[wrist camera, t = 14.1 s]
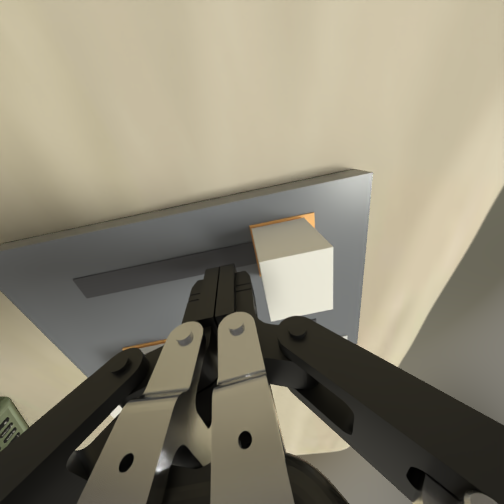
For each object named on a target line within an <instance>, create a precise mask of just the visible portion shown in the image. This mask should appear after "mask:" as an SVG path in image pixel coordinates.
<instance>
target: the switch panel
mask: <svg viewBox="0 0 504 504" xmlns="http://www.w3.org/2000/svg"><path fill="white" fill-rule="evenodd" d="M372 178H373V172H368V171H362V170H357V169H352V170H347V171H342V172H338V173H333V174H328V175H324V176H319V177H314V178H309V179H305V180H300V181H295V182H291V183H286V184H281V185H276V186H272V187H267V188H262V189H258V190H253V191H248V192H243V193H239V194H234V195H229V196H225V197H220V198H215V199H210V200H206V201H201V202H196V203H192V204H187V205H182V206H177V207H173V208H168V209H163V210H159V211H154V212H149V213H144V214H140V215H135V216H130V217H126V218H121V219H116V220H111V221H107V222H102V223H97V224H93V225H88V226H83V227H78V228H74V229H69V230H64V231H60V232H55V233H50V234H45V235H41V236H36V237H31V238H27V239H22V240H17V241H12V242H8V243H3V244H0V291H1V292H2V293H3V294H4V295H5V296H6V297H7V298H8V299H9V300H10V301H11V302H12V303H13V304H14V305H15V306H16V307H17V308H18V309H19V310H20V311H21V312H22V313H23V314H24V315H25V316H26V317H27V318H28V319H29V320H30V321H31V322H32V323H33V324H34V325H35V326H36V327H37V328H38V329H39V330H40V331H41V332H42V333H43V334H44V335H45V336H46V337H47V338H48V339H49V340H50V341H51V342H52V343H53V344H55V345H56V346H57V347H58V348H59V349H60V350H61V351H62V352H63V353H64V354H65V355H66V356H67V357H68V358H69V359H70V360H71V361H72V362H73V363H74V364H75V365H76V366H77V367H78V368H79V369H80V370H81V371H82V372H83V373H84V374H85V375H86V376H87V377H88V378H89V377H90V376H91V375H92V374H93V373H95V372H96V371H97V370H98V369H99V368H100V367H102V366H103V365H104V364H105V363H106V362H108V361H109V360H110V359H111V358H112V357H114V356H115V355H116V354H118V353H119V352H121V351H123V350H126V349H129V348H143V347H148V346H153V345H158V344H163V343H165V342H166V340H167V338H168V336H169V334H170V333H171V332H172V331H173V330H174V329H175V328H176V327H178V326H179V325H181V323H182V320H183V317H184V313H185V310H186V306H187V303H188V299H189V296H190V292H191V289H192V287H193V286H194V284H195V283H196V282H197V281H198V280H202V279H204V274H205V270H206V269H209V268H214V267H219V266H224V265H229V264H233V263H234V264H235V267H236V271H237V272H241V271H246V272H247V273H248V274H249V275H250V278H251V282H252V286H253V290H254V295H255V300H256V307H257V313H258V319H259V320H261V321H262V322H265V323H268V324H275V325H279V324H280V323H281V321H283V320H284V319H282V320H277V321H272V322H271V319H270V315H269V310H268V305H267V301H266V296H265V292H264V287H263V282H262V278H261V273H260V268H259V263H258V258H257V253H256V248H255V244H254V239H253V234H252V229H251V228H256V227H261V226H266V225H271V224H275V223H280V222H285V221H290V220H294V219H299V218H305V219H306V220H307V221H308V222H309V223H310V224H311V225H312V226H313V227H314V228H315V229H316V230H317V231H318V232H319V233H320V234H321V235H322V236H323V237H324V238H325V239H326V240H327V241H328V242H329V243H330V244H331V245H332V246H333V309H331V310H326V311H322V312H317V313H312V314H307V315H302V316H303V317H307V318H309V319H311V320H312V321H314V322H316V323H318V324H320V325H322V326H323V327H325V328H327V329H329V330H331V331H333V332H334V333H336V334H338V335H340V336H342V337H343V338H345V339H347V340H349V341H351V342H353V343H354V344H357V339H358V329H359V318H360V307H361V296H362V285H363V275H364V264H365V253H366V242H367V232H368V221H369V210H370V199H371V189H372Z"/></svg>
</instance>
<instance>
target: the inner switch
mask: <svg viewBox="0 0 504 504" xmlns="http://www.w3.org/2000/svg"><path fill="white" fill-rule="evenodd" d="M251 229H252V234H253V239H254V244H255V248H256V253H257V258H258V263H259V268H260V273H261V278H262V282H263V287H264V292H265V296H266V301H267V305H268V310H269V315H270V319H271V322H272V321H277V320H282V319H286V318H288V317H291V316H302V315H307V314H312V313H317V312H322V311H326V310H331V309H333V246H332V245H331V244H330V243H329V242H328V241H327V240H326V239H325V238H324V237H323V236H322V235H321V234H320V233H319V232H318V231H317V230H316V229H315V228H314V227H313V226H312V225H311V224H310V223H309V222H308V221H307V220H306V219H305V218H299V219H294V220H290V221H285V222H280V223H275V224H271V225H266V226H261V227H256V228H251Z"/></svg>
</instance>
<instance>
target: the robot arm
mask: <svg viewBox="0 0 504 504" xmlns="http://www.w3.org/2000/svg"><path fill="white" fill-rule="evenodd" d="M270 384H274V385H279V386H285V387H288V388H289V390H290V391H291V392H292V393H293V394H294V395H295V396H296V397H297V398H298V399H299V400H301V401H302V402H303V403H304V404H305V405H306V406H307V407H308V408H309V409H310V410H312V411H313V412H314V413H315V414H316V415H317V416H318V417H319V418H320V419H321V420H323V421H324V422H325V423H326V424H327V425H328V426H329V427H330V428H331V429H332V430H334V431H335V432H336V433H337V434H338V435H339V436H340V437H341V438H342V439H343V440H345V441H346V442H347V443H348V444H349V445H350V446H351V447H352V448H353V449H354V450H356V451H357V452H358V453H359V454H360V455H361V456H362V457H363V458H364V459H366V460H367V461H368V462H369V463H370V464H371V465H372V466H373V467H374V468H375V469H376V470H378V471H379V472H380V473H381V474H382V475H383V476H384V477H385V478H386V479H388V480H389V481H390V482H391V483H392V484H393V485H394V486H395V487H396V488H397V489H398V490H400V491H401V492H402V493H403V494H404V495H405V496H406V497H407V498H408V499H409V500H411V501H412V502H413V503H412V504H504V425H502V424H500V423H498V422H496V421H495V420H493V419H491V418H489V417H487V416H485V415H484V414H482V413H480V412H478V411H476V410H475V409H473V408H471V407H469V406H467V405H465V404H464V403H462V402H460V401H458V400H456V399H454V398H453V397H451V396H449V395H447V394H445V393H444V392H442V391H440V390H438V389H436V388H435V387H433V386H431V385H429V384H427V383H425V382H424V381H421V380H420V379H418V378H416V377H414V376H413V375H411V374H409V373H407V372H405V371H403V370H402V369H400V368H398V367H396V366H394V365H393V364H391V363H389V362H387V361H385V360H384V359H382V358H380V357H378V356H376V355H374V354H373V353H371V352H369V351H367V350H365V349H363V348H362V347H360V346H358V345H356V344H354V343H353V342H351V341H349V340H347V339H345V338H343V337H342V336H340V335H338V334H336V333H334V332H333V331H331V330H329V329H327V328H325V327H323V326H322V325H320V324H318V323H316V322H314V321H312V320H311V319H309V318H307V317H303V316H291V317H288V318H286V319H284V320H283V321H281V323H280V324H279V325H275V324H268V323H265V322H262V321H261V320H259V319H258V313H257V307H256V300H255V295H254V290H253V286H252V282H251V278H250V275H249V274H248V273H247V272H246V271H241V272H237V271H236V267H235V264H234V263H233V264H229V265H224V266H219V267H214V268H209V269H206V270H205V274H204V279H202V280H198V281H197V282H196V283H195V284H194V286H193V287H192V289H191V292H190V296H189V299H188V303H187V306H186V310H185V313H184V317H183V320H182V323H181V325H179V326H178V327H176V328H175V329H174V330H173V331H172V332H171V333H170V334H169V336H168V338H167V340H166V342H165V344H164V345H163V346H161V347H159V348H157V349H155V350H153V351H151V352H149V353H146V354H143V352H142V351H141V350H140V349H139V348H129V349H126V350H123V351H121V352H119V353H118V354H116V355H115V356H114V357H112V358H111V359H110V360H109V361H108V362H106V363H105V364H104V365H103V366H102V367H100V368H99V369H98V370H97V371H96V372H95V373H93V374H92V375H91V376H90V377H89V378H87V379H86V380H85V381H84V382H83V383H81V384H80V385H79V386H78V387H77V388H76V389H74V390H73V391H72V392H71V393H70V394H68V395H67V396H66V397H65V398H64V399H62V400H61V401H60V402H59V403H58V404H57V405H55V406H54V407H53V408H52V409H51V410H49V411H48V412H47V413H46V414H45V415H43V416H42V417H41V418H40V419H39V420H37V421H36V422H35V423H34V424H33V425H32V426H30V427H29V428H28V429H27V430H26V431H24V432H23V433H22V434H21V435H20V436H18V437H17V438H16V439H15V440H14V441H13V442H11V443H10V444H9V445H8V446H7V447H5V448H4V449H3V450H2V451H1V452H0V504H349V503H348V502H347V500H346V499H345V498H344V497H343V496H342V495H341V493H340V492H339V491H338V490H337V489H336V487H335V486H334V485H333V484H332V483H331V482H330V481H329V480H328V479H327V478H326V477H325V476H324V475H323V474H322V473H321V472H320V471H319V470H318V469H317V468H315V467H314V466H312V465H311V464H309V463H308V462H307V461H305V460H303V459H301V458H300V457H298V456H295V455H292V454H290V453H286V450H285V445H284V441H283V437H282V432H281V428H280V424H279V420H278V416H277V412H276V407H275V403H274V398H273V394H272V390H271V385H270ZM118 405H119V406H120V407H121V408H122V411H121V412H120V413H119V414H118V415H117V416H116V417H115V419H114V420H113V421H112V422H111V423H110V424H109V425H108V426H107V427H106V428H105V429H104V430H103V431H102V432H101V433H100V434H99V435H98V436H97V437H96V439H95V440H94V441H93V442H92V443H91V444H90V445H88V446H87V447H86V448H84V449H82V450H78V451H75V449H76V448H77V447H78V446H79V445H80V444H81V443H82V442H83V441H84V440H85V439H86V438H87V437H88V436H89V435H90V434H91V433H92V432H93V431H94V430H95V429H96V428H97V427H98V426H99V425H100V424H101V423H102V422H103V421H104V420H105V419H106V418H107V417H108V416H109V415H110V414H111V413H112V411H113V410H114V409H115V408H116V407H117V406H118Z"/></svg>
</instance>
